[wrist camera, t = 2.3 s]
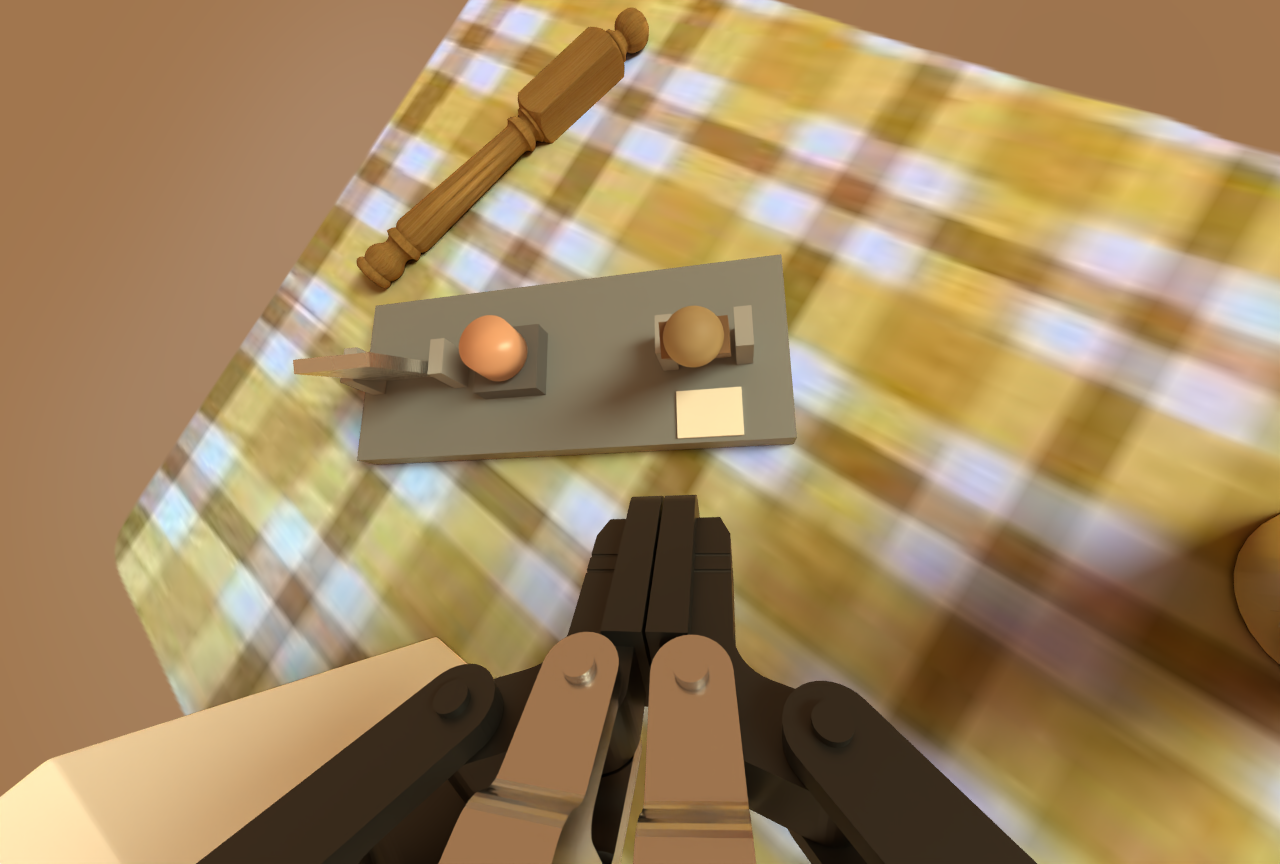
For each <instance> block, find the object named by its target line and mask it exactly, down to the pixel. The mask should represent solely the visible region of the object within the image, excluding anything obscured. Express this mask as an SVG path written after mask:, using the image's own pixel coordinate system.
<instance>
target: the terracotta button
mask: <svg viewBox="0 0 1280 864" xmlns="http://www.w3.org/2000/svg"><path fill="white" fill-rule="evenodd" d="M459 354H460V357H461V359H462V361H463V362H464V364H465V365H466V366H468V367H469V368H471V369H472V370H474V371H475V372H477V373H479V374H480V375H482V376H484V377H485V378H487V379H489V380H491V381H505V380H508V379H510V378H512V377H514V376H515V375H516V374H517V373H518V372H519V371H520V370H521V369H522V367H523V366H524V364H525V362H526V359H527V344H526V341H525V339H524V338H523V337H522V335H521V334H520V333H518V332H517V331H516V330H515V329H514V328H513V327H512V326H511V325H510V324H509V323H508V322H506V321H505V320H504V319H502V318H501V317H498V316H494V315H486V316H482V317H479V318H477V319H475V320H474V321H472V322H471V323H470V324H469V325H468V326H467V327H466V328H465V330H464V331H463V333H462V335H461V338H460V341H459Z"/></svg>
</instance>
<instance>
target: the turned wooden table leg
mask: <svg viewBox="0 0 1280 864" xmlns="http://www.w3.org/2000/svg"><path fill="white" fill-rule="evenodd" d="M648 37H649V26H648V23H647V21H646V18H645V17H644V15H643V14H642V13H641V12H640V11H638V10H637V9H635V8H628V9H626V10H624V11H623V12H621V13H620V14H619V15H618V17H617V19H616V21H615V31H612V30H610V29H608V30H607V31H604V30H603V29H601V28H597V27H588V28H587V29H586V30H585V31H584V32H583V33H581V34H580V35H579V36H578V37H577V38H576V39H575V40H574V41H573V42H572V43H571V44H570V45H569V46H568V47H567V48H565V49H564V50H563V51H562V52H561V53H560V54H559V55H558V56H557V57H556V58H555V59H554V60H553V61H552V62H551V63H550V64H548V65H547V66H546V67H545V68H544V69H543V70H542V71H541V72H540V73H539V74H538V75H537V76H536V77H535V78H534V79H532V80H531V81H530V82H529V83H528V84H527V85H526V86H525V87H524V88H523V89H522V90H521V91H520V92H519V93H518V103H519V109H518V113H519V115H518V117H510V118H508V119H507V120H508V126H507V127H506V128H505V129H504V130H503V131H502V132H501V133H499V134H498V135H497V136H496V137H495V138H494V139H492V140H491V141H490V142H489V143H488V144H487V145H485V146H484V147H483V148H482V149H481V150H480V151H478V152H477V153H476V154H475V155H474V156H473V157H471V158H470V159H469V160H468V161H467V162H466V163H464V164H463V165H462V166H461V167H460V168H459V169H457V170H456V171H455V172H454V173H453V174H452V175H450V176H449V177H448V178H447V179H446V180H445V181H443V182H442V183H441V184H440V185H439V186H438V187H436V188H435V189H434V190H433V191H432V192H431V193H429V194H428V195H427V196H426V197H425V198H424V199H422V200H421V201H420V202H419V203H418V204H417V205H415V206H414V207H413V208H412V209H411V210H410V211H408V212H407V213H406V214H405V215H404V216H403V217H402V218H400V219H399V220H398V222H397V225H396V228H391V229H389V230H387V232H388V235H389V237H388V240H387V241H386V242H384V243H377V244H374V245H372V246H370V247H369V248H368V249H367V251H366V253H365V257H359V258H358V259H357V266H358V267H359V268H360V270H361V271H362V272H363V273H364V274H365V275H366V276H367V277H368V278H369V279H371V280H372V281H373V282H374V283H375V284H377V285H378V286H380V287H383V288H388V287H390V284H391V283H390V281H394V280H396V279H398V278H399V277H400V276H401V275H402V274H403V272H404V268H405V263H406V262H407V261H408V260H410V259H414V260H418V259H419V258H420V255H421V252H426V251H428V250H429V249H430V248H431V247H432V246H433V245H434V244H435V243H436V242H437V241H438V240H439V239H440V238H441V237H442V236H443V235H444V234H445V233H446V232H447V231H448V230H449V229H450V228H451V227H452V226H453V225H454V224H455V223H456V222H457V221H458V220H459V219H460V218H461V216H462V215H463V214H464V213H465V212H466V211H467V210H468V209H469V208H470V207H471V206H472V205H473V204H474V203H475V202H476V201H477V200H478V199H479V198H480V197H481V196H482V195H483V194H484V193H485V192H486V191H487V190H488V189H489V188H490V187H491V186H492V185H493V184H494V183H495V182H496V181H497V180H498V179H499V178H500V177H501V176H502V175H503V174H504V173H505V172H506V171H507V170H508V169H509V168H510V167H511V166H512V164H513V163H514V162H515V161H516V160H517V159H518V158H519V157H520V156H521V155H522V154H523V153H524V152H525V151H528V150H529V151H531V152H532V151H533V150H534V149H535V146H536V141H540V142H543V141H545V142H548V143H553V142H554V141H555V140H557V139H558V138H559V137H560V136H561V135H562V134H563V133H564V132H565V131H566V130H567V129H568V128H569V127H571V126H572V125H573V124H574V123H575V122H576V121H577V120H578V119H579V118H580V117H581V116H582V115H583V114H585V113H586V112H587V111H588V110H589V109H590V108H591V107H592V106H593V105H594V104H595V103H596V102H597V101H599V100H600V99H601V98H602V97H603V96H604V95H605V94H606V93H607V92H608V91H609V90H610V89H611V88H613V87H614V86H615V85H616V84H617V83H618V82H619V81H620V80H621V79H622V78H623V77H624V62H625V61H626V53H627V52H628V53H635V52H638V51H640V50H642V49H643V48H644V47H645V45H646V44H647V41H648Z"/></svg>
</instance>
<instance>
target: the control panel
mask: <svg viewBox="0 0 1280 864" xmlns="http://www.w3.org/2000/svg"><path fill="white" fill-rule="evenodd" d="M687 306H701V307H704V308H707V309H709V310H710V311H712V312H713V313H714V314H715V315H716V316H723V315H728V321H729V329H730V344H731V357H725V358H714V359H713V360H712V361H711V362H709V363H708V364H706V365H703V366H700V367H686V366H682V365H680V364H678V363H676V362H675V361H674V360H667V359H661V349H660V336H659V323H658V322H665V321H668V319H669V318H670V317H671V316H672V315H673V314H674V313H675V312H676V311H678V310H679V309H681V308H684V307H687ZM486 315H494V316H498V317H501V318H502V319H504V320H505V321H506V322H508V323H509V324H510V325H511V326H512V327H513V328H514V329H515V330H516V331H517V332H518V333H520V334H521V335H522V337H523V338H524V339H525V341H526V344H527V359H526V362H525V364H524V366H523V367H522V369H521V370H520V371H519V372H518V373H517V374H516V375H515V376H514V377H512V378H510V379H508V380H505V381H491V380H489V379H487V378H485V377H484V376H482V375H480V374H479V373H477V372H475V371H474V370H472V369H471V368H469V367H468V366H466V365H465V364H464V362H463V361H462V359H461V357H460V354H459V341H460V338H461V335H462V333H463V331H464V330H465V328H466V327H467V326H468V325H469V324H470V323H471V322H472V321H474V320H475V319H477V318H479V317H482V316H486ZM370 352H371V353H378V354H384V355H390V356H397V357H403V358H410V359H416V360H422V361H429V362H428V373H427V374H428V375H430V376H432V377H424V378H413V379H402V380H390V381H375V380H362V379H350V378H341V379H340V382H341V383H343V384H346V385H348V386H351V387H353V388H356V389H359V390H361V391H364V392H365V399H364V407H363V416H362V424H361V432H360V440H359V449H358V457H357V461H362V462H367V463H372V464H377V465H380V464H400V463H420V462H440V461H460V460H480V459H501V458H521V457H541V456H561V455H581V454H601V453H621V452H641V451H661V450H681V449H701V448H721V447H741V446H761V445H781V444H794V442H795V440H796V438H797V432H796V421H795V409H794V397H793V386H792V374H791V362H790V351H789V339H788V327H787V316H786V304H785V292H784V281H783V269H782V257H781V255H773V256H765V257H757V258H750V259H742V260H734V261H726V262H718V263H710V264H702V265H694V266H686V267H679V268H671V269H663V270H655V271H647V272H639V273H631V274H623V275H615V276H608V277H600V278H592V279H584V280H576V281H568V282H560V283H552V284H545V285H537V286H529V287H521V288H513V289H505V290H497V291H489V292H481V293H474V294H466V295H458V296H450V297H442V298H434V299H426V300H418V301H410V302H403V303H395V304H387V305H379V306H376V308H375V316H374V325H373V333H372V341H371V349H370ZM356 353H365V351H363V350H361V349H359V348H347V349H344V355H346V354H356Z"/></svg>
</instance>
